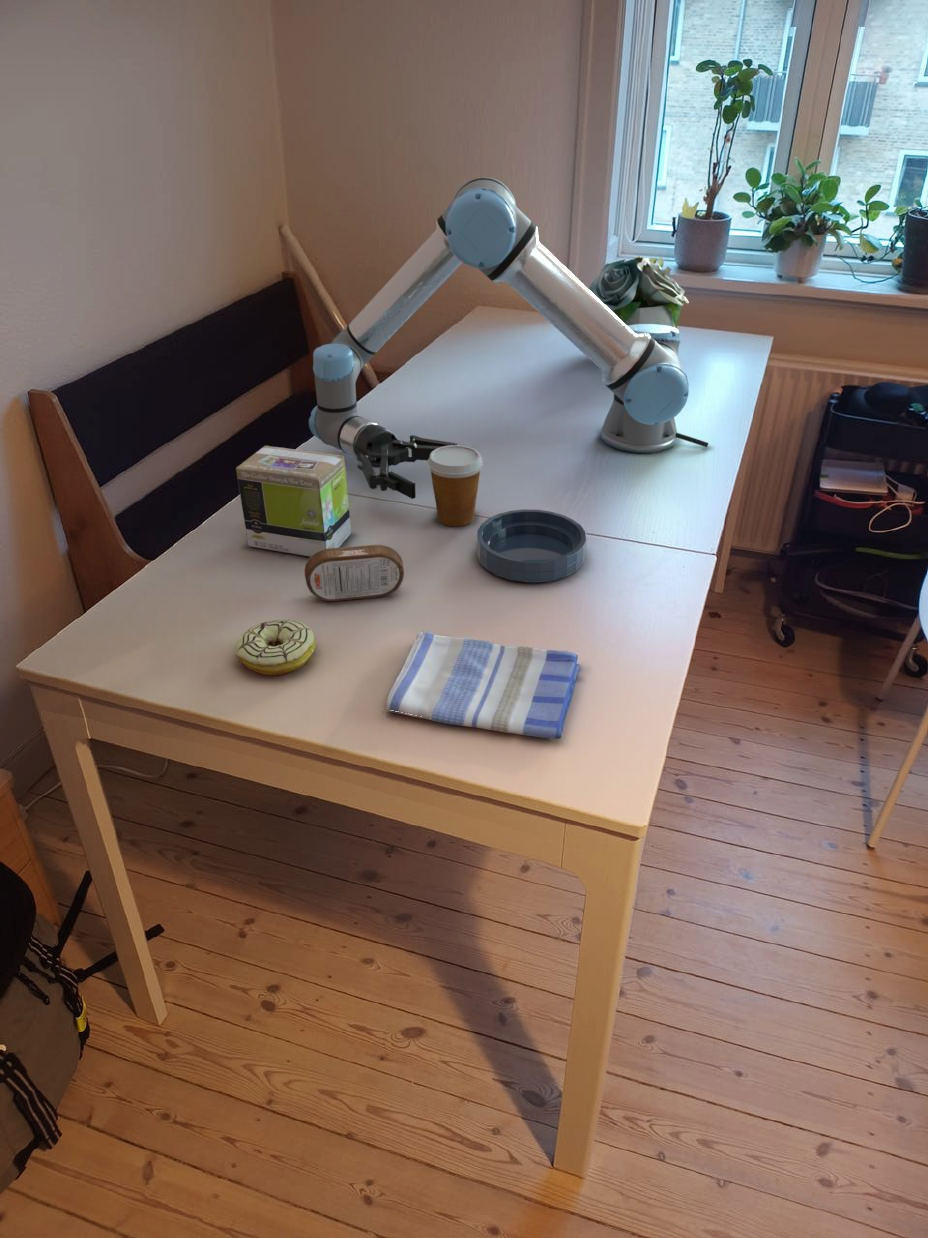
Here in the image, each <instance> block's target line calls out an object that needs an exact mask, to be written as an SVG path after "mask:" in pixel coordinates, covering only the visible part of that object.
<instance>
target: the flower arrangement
mask: <svg viewBox="0 0 928 1238" xmlns="http://www.w3.org/2000/svg"><path fill="white" fill-rule="evenodd" d="M664 262H665V261H664V259H663V258H662V257H659V258H657V257H653V258H650V257H643V256H640V255H638V256H637V257H633V258H632V259H628V260H626V259H621V260H617V261H612V262H609V263H606V264H604V266H603V267H602V268H601V270H600V271H599V273H598V275H597V276H596V277H595V278H594V279H592V281H591V283H590V286H589V287H588V289H589V290H590V291H591V292H592V293H593V294H594V295H595V296H596V297H597V298H598V299H599V300H600V301H601V302H602V303H603V304H605V305H606V306H607V307H608V308H609V309H610V310H611V311H612V312H613V313H614V314H615V315H616V316H617V317H618V318H619V319H620V320H621V321H622V322H623V323H624V324H625V325H626V326H629V325H635V324H657V325H666V326H671V327H674V328H676V329H678V323H679V320H680V315H681V309H682V306H684V304H685V303H686V304H689V303H690V302H689V300H688V299H687V296H685V293H686V292H685V290H684V289H683V288H681V287H680V286H679V284H678V283H677V281H676V280H675V279H673V278H672V277H671V271H672V268H671V267H670V266H667V267H665V268H664V269H663V267H664V264H665V263H664ZM684 301H685V303H684Z"/></svg>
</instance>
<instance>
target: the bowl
mask: <svg viewBox="0 0 928 1238" xmlns="http://www.w3.org/2000/svg"><path fill="white" fill-rule="evenodd" d="M586 548H587V533H586V531H585V529H584V527H583V526H582V525H581V524H580V523H579V522H577V521H576V520H574V519H573V518H571V517H568V516H566V515H564V514H561V513H558V512H555V511H551V510H545V509H544V510H543V509H530V508H529V509H528V508H526V509H523V508H522V509H516V510H514V509H513V510H508V511H505V512H500V513H497V514H495V515H493V516H491V517H489V518H487V519H486V520H484V521H483V523H481V524H480V525H479V527H478V529H477V534H476V557H477V559H478V561H479V563H480V565H481V566H482V567H484V569H486V570H487V571H488V572H490V573H492V574H494V575H495V576H497V577H500V578H504V579H507V580H510V581H517V582H522V583H543V582H552V581H556V580H560V579H563V578H566V577H568V576H570V575H571V574H573V573H576V572H577V571H578V570H579V569H580V568H581V567H582V566H583V564H584V561H585V559H586Z"/></svg>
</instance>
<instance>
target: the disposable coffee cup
mask: <svg viewBox="0 0 928 1238" xmlns="http://www.w3.org/2000/svg"><path fill="white" fill-rule="evenodd" d="M426 464H427V467H428V468H429V471H430V476H431V482H432V489H433V494H434V495H433V496H434V502H435V507H436V513H437V520H438V521H439V523H440V524H442V525H444V526H448V527H462V526H467V525H470V524H471V523H472V522H473V521H474V519H475V511H476V503H477V497H478V489H479V481H480V475H481V470H482V468H483V466H484V460H483V458H482V456H481V453H480V451H479V450H477V449H476V448H473V447H471V446H467V445H463V444H462V445H461V444H458V445H449V446H443V447H440V448H437V449H435V450H434V451H432V452H431V454H430V458H429V459H428V460H426Z"/></svg>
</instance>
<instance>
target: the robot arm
mask: <svg viewBox="0 0 928 1238" xmlns="http://www.w3.org/2000/svg"><path fill="white" fill-rule="evenodd" d="M516 203H517V202H516V200H515V197H514V195H513V193H512V192H511V190H510V188H509V187H508V186H507V185H505V183H503V182H502V181H500V180H499V179H497V178H493V177H489V176H481V177H475V178H472V179H470V180H469V181H467V182H466V183H464V184H463V185H462V186H460V188H459V189H458V191H457V192H456V194H455V196H454V197H453V199H452V201H451V202H450V204H449V205H447V208H446V209H444V211H443V212H442V213H441V215H440V216H439V217H438V218H437V219H436V220H435V229H434V231H433V232H432V233H431V234H430V235H429V236H428V238H427V239H426V240H425V241H424V242H423V243H422V244H421V245H420V246H419V247H418V248H417V249H416V251H415V252H414V253H413V254H412V255H410V257H409V258H408V259H407V260H406V261H405V263H403V265H402V266H401V267H400V268H399V269H398V270H397V271H396V272H395V273H394V274H393V275H392V276H391V278H390V279H389V280H388V281H387V282H386V283H385V284H384V285H383V287H382V288H381V289H380V290H379V291H378V292H376V294H375V295H374V296H373V297H372V298H371V300H370V301H369V302H368V303H367V304H366V305H365V306H364V308H362V310H360V311H359V312H358V313H357V314H356V316H355V317H353V319H352V320H351V321H350V322H349V324H348V325H347V326H346V327H345V328H344V329H343V330H342V331H340V332H339V333H338V334H337V335H335V336H334V337H333V339H332V340H331V342H330V343H327V344H323V345H321V346H317V347H316V348H315V349H314V350H313V353H312V359H313V360H312V361H313V365H312V371H313V374H314V384H315V392H316V394H315V395H316V403H317V404H316V405H315V407H313V409H312V410H311V411H310V416H309V418H308V428H309V430H310V433H312V435H313V436H314V437H315V438H317V440H320V441H321V442H322V443H323V444H325V445H327V446H331V447H333V448H335V449H336V450H337V449H338V450H340V451H341V452H343V453H345V454H347V455H349V456H351V457H353V458H355V459H356V464H357V465H356V467H357V469H358V470H359V471H361V472H362V474H363V476H364V477H365V480H366V482H367V484H368V487H369V489H371V490H375V489H377V488H378V486H380V491H382V492H386V491H388V489H390V490H391V491H395V492H398V493H400V494H402V495H404V496H406V497H407V498H409V499H411V500H413V499H416V498H417V497H416V483H415V482H414V481H411V480H410V479H407V478H406V477H404V476H402V475H400V474H398V473H395V472H393V471H390V469H389V468H390V466H397V465H399V464H401V463H416V461H428V459H429V458H430V454H431V452H432V451H434V450H435V449H437V448H440V447H443V446H449V445H459V444H458V443H457V442H450V441H444V440H437V439H431V438H425V437H420V436H418V435H415V434H412V435H409V440H407V441H405V440H400V439H398V438H397V437H396V435H395V434H394V433H393V432H392V431H391V430H390V429H388V428H386V427H384V426H382V425H379V424H378V423H376V422H373V421H371V420H369V419H367V418H364V417H362V416H360V415H359V414H358V406H357V405H358V403H357V402H358V401H357V392H356V391H357V390H356V389H357V388H356V383H357V380H358V377H359V375H360V373H361V372H362V369H363V368H364V366H365V365H366V364H367V363H369V361H370V360H372V358H373V357H374V356H375V355H376V353H377V352H378V351H380V349H381V348H382V347H383V346H384V345H385V344H386V343H387V342H388V341H389V340H390V339H391V338H392V337H393V335H395V333H397V332H398V331H399V330H400V329H401V327H403V325H404V324H405V323H406V322H407V321H409V319H410V318H411V317H412V316H413V315H414V314H415V313H416V312H417V311H418V310H419V308H421V307H422V305H424V304H425V303H426V301H428V300H429V298H431V297H432V295H434V293H435V292H436V291H437V290H439V288H440V287H441V286H442V285H443V284H444V283H445V282H446V281H447V279H449V278H450V276H451V275H452V274H454V272H455V271H456V270H457V269H458V268H459V267H460V266H461V265H462V264H465V265H467V266H469V267H471V268H475V269H478V270H479V271H480V272H481V273H482V274H483V275H484V276H486V277H487V278H488V279H489V280H490V281H491V282H492V283H500V282H505V283H507V284H508V285H509V286H510V287H511V288H512V289H513V290H514V291H515V292H516V293H518V294H519V296H521V297H522V298H523V299H524V300H525V301H526V302H527V303H528V304H529V305H530V306H531V307H533V308H534V309H535V311H537V312H538V313H539V315H541V316H543V317H544V318H545V319H546V320H547V321H548V322H549V323H550V324H551V325H552V326H553V327H554V328H555V329H557V331H559V333H561V334H562V335H563V336H564V337H565V338H566V339H567V340H568V341H569V342H571V344H572V345H573V346H575V347H576V348H577V349H578V350H579V351H580V352H581V353H583V354H584V355H585V357H587V358H588V359H589V360H590V361H591V362H592V363H593V364H595V366H597V367H598V368H599V369H600V370H601V381H602V383H603V384H604V386H605V387H607V388H608V389H609V390H610V391H611V392H612V393H613V399H612V402H611V405H610V408H609V410H608V413H607V414H606V417H605V419H604V422H603V424H602V427H601V435H600V436H601V439H602V441H603V442H604V443H605V444H606V445H607V446H609V447H611V448H614V449H617V450H619V451H622V452H623V451H624V452H628V453H635V454H636V453H637V454H652V453H658V452H663V451H666V450H669V449H670V448H672V447H674V446H675V444H676V442H677V439H679V440H683V441H686V442H689V443H692V444H696V445H697V446H701V447H705V448H708V446H709V442H707V441H704V440H702V439H698V438H695V437H692V436H689V435H686V434H682V433H679V432H678V430H677V429H678V428H677V424H676V419H675V417H677V416H678V415H679V414H680V413H681V411H682V410H683V409H684V407H685V406H686V404H687V401H688V398H689V393H690V392H689V390H690V389H689V385H690V384H689V379H688V376H687V374H686V372H685V371H684V368H683V365H682V362H681V360H680V358H679V348H680V344H681V341H682V340H681V332H680V330H679V329H678V328H677V329H676V328H674V327H671V326H666V325H657V324H635V325H629V326H626V325H625V324H624V323H623V322H622V321H621V320H620V319H619V318H618V317H617V316H616V315H615V314H614V313H613V312H612V311H611V310H610V309H609V308H608V307H607V306H606V305H605V304H603V303H602V302H601V301H600V300H599V299H598V298H597V297H596V296H595V295H594V294H593V293H592V292H591V291H590V290H589V287H587V286H586V285H585V284H584V283H583V282H582V281H581V280H579V278H578V277H577V276H575V274H574V273H572V271H570V270H569V269H568V268H567V267H566V266H565V265H564V264H563V263H562V262H561V261H560V260H559V259H558V258H557V257H556V256H554V254H553V253H552V252H550V251H549V250H548V249H547V248H546V247H545V246H544V245H543V244H542V243H541V242H540V240H539V228H538V226H537V225H536V224H534V222H532V221H531V219H530V218H528V217H527V215H525V213H524V212H523V211H521V210H520V209H519V207H517V204H516ZM409 449H410V452H411V453H409ZM410 454H411V456H409V455H410ZM377 468H378V469H379V474H377V473H376V471H375V469H377Z"/></svg>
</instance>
